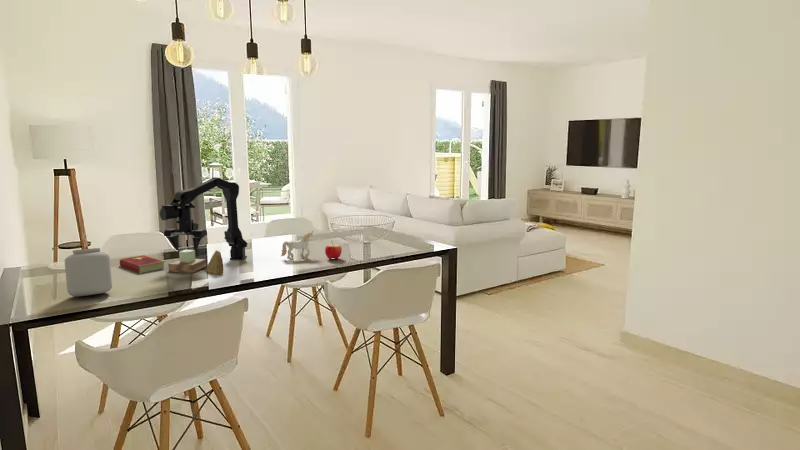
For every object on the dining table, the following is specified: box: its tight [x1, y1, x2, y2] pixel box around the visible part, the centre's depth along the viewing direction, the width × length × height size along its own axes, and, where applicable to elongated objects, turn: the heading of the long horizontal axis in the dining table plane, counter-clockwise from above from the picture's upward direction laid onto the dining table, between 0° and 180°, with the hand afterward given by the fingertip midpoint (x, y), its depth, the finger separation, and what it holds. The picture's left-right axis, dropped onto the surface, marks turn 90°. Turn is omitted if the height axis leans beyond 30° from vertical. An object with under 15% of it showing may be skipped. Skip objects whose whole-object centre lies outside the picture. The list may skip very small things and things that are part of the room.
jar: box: [64, 231, 113, 297], centre depth 191 cm, size 19×15×25 cm
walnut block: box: [168, 258, 207, 273], centre depth 234 cm, size 12×12×4 cm
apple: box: [324, 240, 343, 261], centre depth 255 cm, size 8×8×10 cm
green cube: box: [178, 249, 196, 263], centre depth 234 cm, size 5×5×5 cm
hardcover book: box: [119, 254, 166, 274], centre depth 236 cm, size 12×21×4 cm, turn 51°
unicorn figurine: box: [280, 230, 314, 261], centre depth 256 cm, size 7×20×13 cm, turn 129°
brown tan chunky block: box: [205, 250, 224, 275], centre depth 227 cm, size 11×9×10 cm
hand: (186, 250), depth 233 cm, fingers open, 9 cm apart
